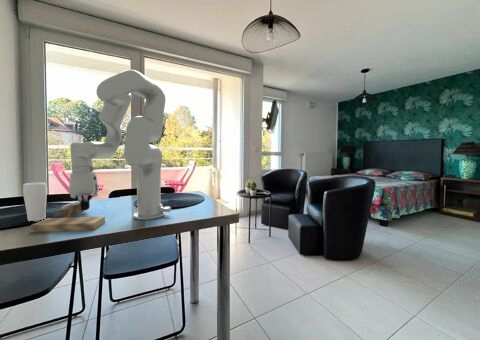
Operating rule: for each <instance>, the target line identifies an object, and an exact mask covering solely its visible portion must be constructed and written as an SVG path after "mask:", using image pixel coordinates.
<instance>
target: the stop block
mask: <svg viewBox="0 0 480 340" xmlns="http://www.w3.org/2000/svg"><path fill="white" fill-rule="evenodd" d="M73 203H74V202H73ZM73 203H72V202H71V203H67V204H64V205H61V208H64V207H66V206H68V205H71V204H73Z"/></svg>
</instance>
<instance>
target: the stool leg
mask: <svg viewBox="0 0 480 340" xmlns="http://www.w3.org/2000/svg"><path fill="white" fill-rule="evenodd" d="M84 211H85V210H83V211H82V208H81V205H80V202H79V201H76V202H73V204H71V205H68V206H66V207H64V208H62V207H61V208H58V209H55V210H53V212H54V218H71V217H73V216H76V215H78V214H79V213H82V212H84Z"/></svg>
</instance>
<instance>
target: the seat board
mask: <svg viewBox="0 0 480 340" xmlns="http://www.w3.org/2000/svg"><path fill="white" fill-rule="evenodd" d="M105 223H106V216H80V217H79V216H77V217H73V216H72V217H70V218H55V217H47V218H45V219H44V220H41V221H36V223H32V224H31V225H30V232H31V233H47V232H49V233H50V232H71V231H72V232H74V231H75V232H76V231H77V232H78V231H95V230H97V229H98V228H100V227H101V226H103V225H104V224H105Z"/></svg>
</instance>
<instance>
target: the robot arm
mask: <svg viewBox="0 0 480 340" xmlns="http://www.w3.org/2000/svg"><path fill="white" fill-rule="evenodd" d="M95 92H96V96H97V98H98V99H99V100H100V101H102V102H104V104H103V106H102V109H101V111H100V113H99V115H98V119H99V121H100V122H101V123H102V124H103V125H104V126H105V128H106V136H105V139H104V141H85V142H83V141H82V142H76V141H75V142H72V143H70V145H69V147H70V162H71V163H70V164H71V173H70V175H69V182H68V183H69V184H68V187H69V195H70V196H69V197H70V198H72V199H76V200H78V202H80V205H81V208H82V212H84V211H88V210H89V209H90V201H91V200H92V199H93V198H95V197H98V196H99V194H98V192H99V191H100V190H99V184H98V177H97V174H96V172H94V171H96V170H97V167H96V166H93V160H95V159H96V160H97V159H110V158H112V157H114V156H115V154H116V153H117V151H118V149H119V147H120V145H121V141H122V131H121V125H122V123H123V120H124V117H125V116H126V113H127V111H128V109H129V106H130V104H131V102H132V94H134V95H135V96H138V97H140V98H142V99H144V100H145V101H144V104H143V105H142V114H141V115H137V116H134V117H132V118H131V119H130V120H128V121H129V122H128V123H127V125H126V129H125V130H126V131H125V140H124V150H123V155H124V156H123V157H124V159H125V162H126V164H127V165H128V166H130V167H132V168H136V169H138V170H137V175H136V197H137V199H136V200H137V206H136V207H137V211H136V212H134V214H133V218H134V219H136V220H140V221H141V220H143V221H147V220H157V219H159V218H162V217H164V216H165V213H171V212H172V207H170V206H163V203H162V199H161V196H162V195H161V180H162V179H161V175H162V173H161V171H162V162H163V154H162V151H161V150H160V148H159V147H158V146H156V145H153V144H150V142H151V143H152V142H157V141H159V140H160V139H161V137H162V134H163V123H164V118H165V117H164V116H165V115H164V114H165V108H166V107H165V106H166V93H165V91H164V90H163V88H162V87H160V85H158V84H157V82H155V81H153V79H150V78H149V77H148V76H145V75H144V74H142V73H141V72H140V71H137V70H135V69H126V70H124V71H121V72H119V73H117V74H114V75H112V76H110V77H108V78H106V79H104V80H103V81H102V82H100V83H99V84H98V86H97V87H96V91H95ZM83 210H84V211H83Z"/></svg>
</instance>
